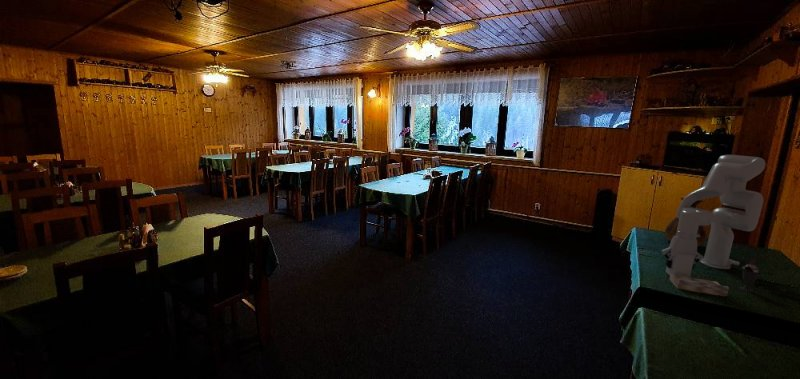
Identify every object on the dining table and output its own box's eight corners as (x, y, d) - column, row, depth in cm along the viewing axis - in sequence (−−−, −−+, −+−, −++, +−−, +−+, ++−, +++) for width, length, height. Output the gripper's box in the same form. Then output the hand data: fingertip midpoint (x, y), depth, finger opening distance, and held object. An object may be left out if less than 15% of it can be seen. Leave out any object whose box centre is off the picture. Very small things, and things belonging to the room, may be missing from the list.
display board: (715, 286, 160) (717, 277, 159) (726, 296, 151) (729, 287, 150) (669, 279, 166) (671, 270, 166) (677, 288, 157) (679, 279, 156)
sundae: (750, 287, 160) (758, 258, 157) (759, 294, 154) (768, 263, 151) (732, 285, 162) (740, 255, 159) (741, 291, 156) (749, 261, 153)
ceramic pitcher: (704, 244, 216) (714, 198, 209) (702, 253, 201) (713, 204, 195) (665, 236, 229) (674, 193, 222) (661, 244, 214) (670, 198, 208)
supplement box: (690, 280, 166) (695, 256, 163) (672, 278, 167) (678, 254, 165) (681, 273, 173) (686, 250, 170) (664, 271, 175) (669, 248, 172)
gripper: (704, 235, 166) (697, 268, 170) (661, 230, 172) (655, 262, 176) (712, 240, 159) (703, 275, 163) (667, 235, 165) (660, 268, 169)
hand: (678, 268), depth 169 cm, fingers closed on supplement box, 8 cm apart
